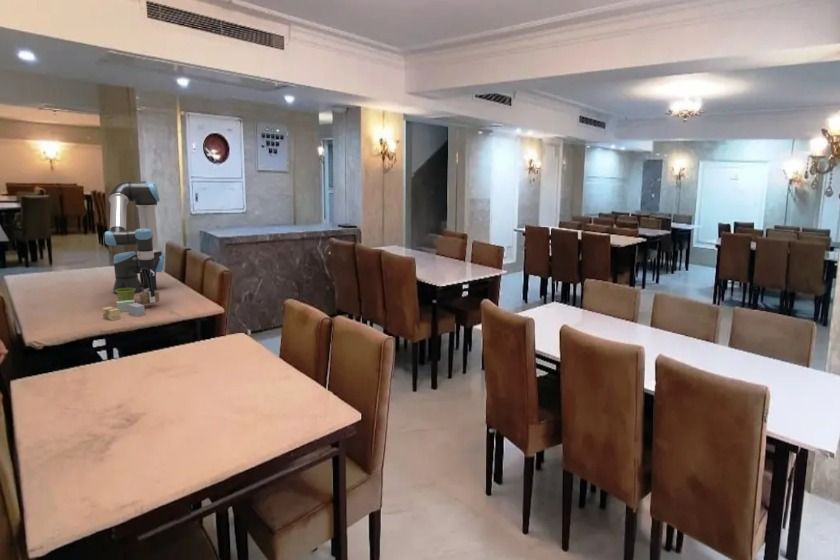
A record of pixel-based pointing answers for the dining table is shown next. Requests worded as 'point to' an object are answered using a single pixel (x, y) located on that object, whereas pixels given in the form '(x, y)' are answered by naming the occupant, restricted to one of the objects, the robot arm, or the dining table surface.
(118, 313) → the oak brick
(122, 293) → the plant pot
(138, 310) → the grey brick
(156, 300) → the walnut brick
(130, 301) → the sage brick
